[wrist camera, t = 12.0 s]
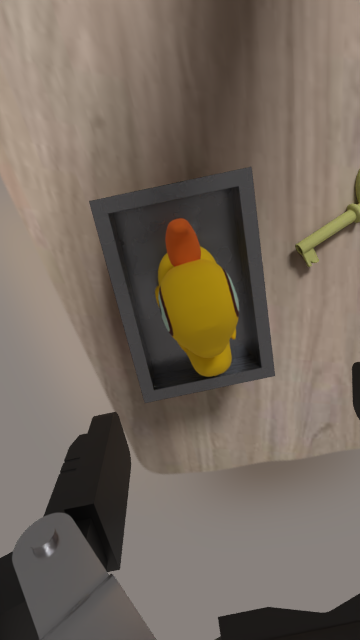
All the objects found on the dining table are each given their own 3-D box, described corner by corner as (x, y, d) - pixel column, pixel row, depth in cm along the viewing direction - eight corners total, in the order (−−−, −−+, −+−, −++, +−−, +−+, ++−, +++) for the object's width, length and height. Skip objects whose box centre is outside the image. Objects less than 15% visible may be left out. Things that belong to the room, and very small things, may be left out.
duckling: (135, 225, 25) (122, 236, 15) (204, 205, 24) (233, 204, 15) (176, 355, 28) (185, 429, 19) (235, 338, 28) (274, 405, 19)
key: (284, 248, 33) (293, 251, 31) (377, 145, 30) (393, 140, 28) (330, 291, 35) (341, 296, 33) (421, 197, 32) (438, 196, 30)
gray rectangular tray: (224, 178, 30) (251, 166, 21) (246, 335, 35) (275, 375, 27) (108, 202, 30) (89, 201, 22) (148, 355, 35) (144, 402, 27)
